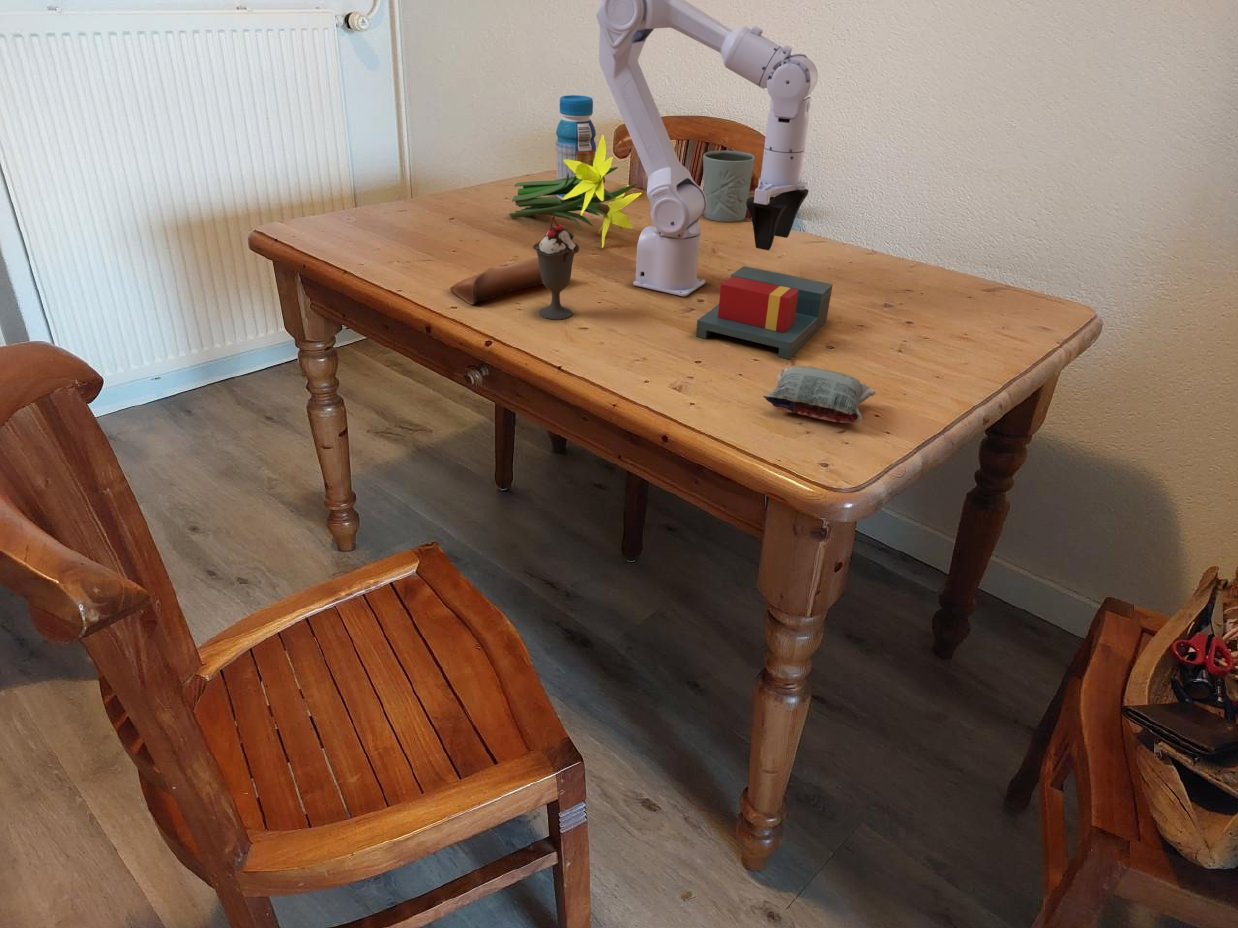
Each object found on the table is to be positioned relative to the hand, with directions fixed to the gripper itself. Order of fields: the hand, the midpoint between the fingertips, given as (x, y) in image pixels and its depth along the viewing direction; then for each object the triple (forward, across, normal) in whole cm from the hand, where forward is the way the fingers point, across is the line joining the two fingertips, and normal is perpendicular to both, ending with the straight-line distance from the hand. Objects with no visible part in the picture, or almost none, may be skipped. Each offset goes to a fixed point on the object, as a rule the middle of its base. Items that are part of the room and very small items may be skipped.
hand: (772, 242), depth 132 cm
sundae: (+10, -23, +24) cm, 35 cm away
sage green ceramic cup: (+10, +41, +25) cm, 49 cm away
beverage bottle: (+10, +35, +57) cm, 68 cm away
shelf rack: (+9, -11, -4) cm, 15 cm away
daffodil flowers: (+10, +12, +45) cm, 48 cm away
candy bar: (+7, -14, -4) cm, 17 cm away
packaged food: (+10, -31, -19) cm, 38 cm away
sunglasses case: (+10, -18, +36) cm, 41 cm away
